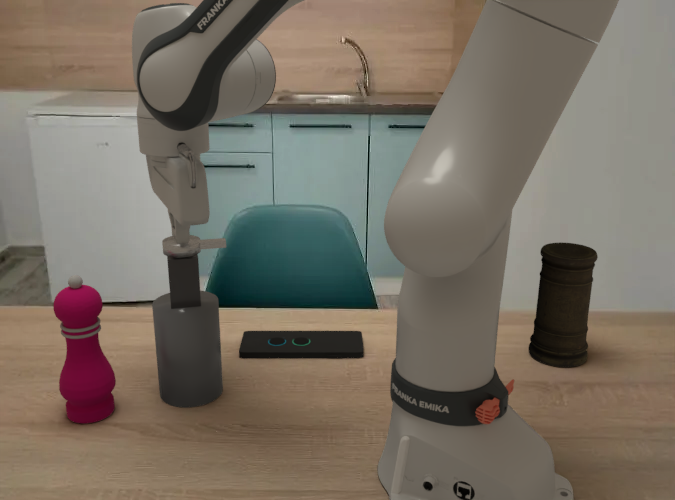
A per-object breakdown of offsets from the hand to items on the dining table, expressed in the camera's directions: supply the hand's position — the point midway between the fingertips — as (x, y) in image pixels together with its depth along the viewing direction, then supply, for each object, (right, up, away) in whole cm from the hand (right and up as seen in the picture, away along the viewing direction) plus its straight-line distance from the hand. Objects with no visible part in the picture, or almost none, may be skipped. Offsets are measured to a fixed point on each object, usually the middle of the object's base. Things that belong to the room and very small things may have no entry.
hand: (181, 240), depth 94 cm
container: (+57, -19, +19) cm, 63 cm away
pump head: (+2, -8, +3) cm, 9 cm away
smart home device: (+15, -18, +21) cm, 32 cm away
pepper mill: (-13, -24, +2) cm, 27 cm away
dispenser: (0, -22, +7) cm, 23 cm away
